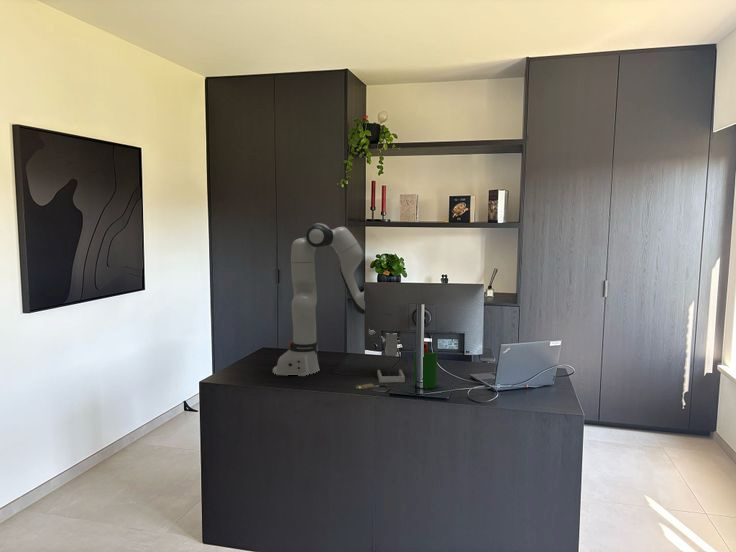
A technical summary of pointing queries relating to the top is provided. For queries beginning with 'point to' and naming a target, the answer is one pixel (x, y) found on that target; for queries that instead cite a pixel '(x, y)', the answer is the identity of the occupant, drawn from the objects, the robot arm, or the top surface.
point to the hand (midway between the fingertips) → (391, 342)
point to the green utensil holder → (428, 368)
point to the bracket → (391, 377)
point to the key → (364, 386)
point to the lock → (391, 344)
